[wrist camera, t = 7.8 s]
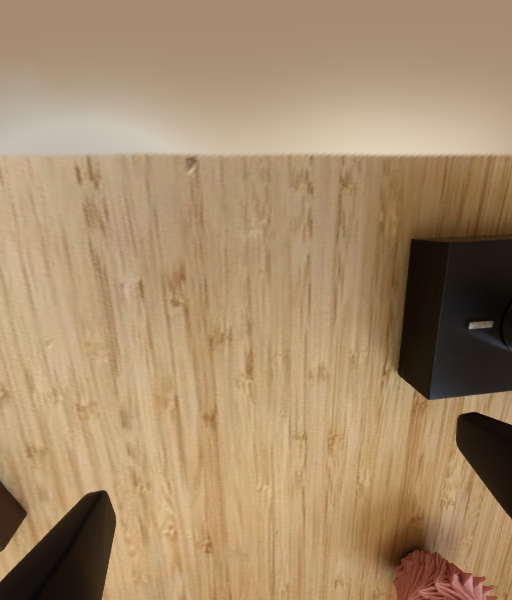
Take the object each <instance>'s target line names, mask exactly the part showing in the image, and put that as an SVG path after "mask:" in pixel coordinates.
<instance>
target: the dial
mask: <svg viewBox="0 0 512 600" xmlns="http://www.w3.org/2000/svg"><path fill="white" fill-rule="evenodd" d="M502 332H503V338H504V341H505V343H506V345H507V346H508V348H509V349H510V350H511V351H512V303H511V305H510V306H509V308H508V310H507V312H506V315H505V317H504V321H503V327H502Z"/></svg>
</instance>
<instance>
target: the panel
mask: <svg viewBox="0 0 512 600" xmlns="http://www.w3.org/2000/svg"><path fill="white" fill-rule="evenodd" d="M511 303H512V235H490V236H469V237H447V238H426V239H412V241H411V251H410V261H409V271H408V281H407V291H406V301H405V311H404V321H403V331H402V341H401V351H400V360H399V370H398V375H399V376H400V377H401V378H403V379H404V380H405V381H406V382H407V383H409V384H410V385H411V386H412V387H413V388H415V389H416V390H417V391H418V392H419V393H421V394H422V395H423V396H424V397H425V398H427V399H428V400H434V399H443V398H452V397H460V396H469V395H478V394H487V393H496V392H505V391H512V351H511V350H510V349H509V348H508V346H507V345H506V343H505V341H504V338H503V332H502V327H503V321H504V317H505V315H506V312H507V310H508V308H509V306H510V305H511Z"/></svg>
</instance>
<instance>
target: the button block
mask: <svg viewBox="0 0 512 600" xmlns="http://www.w3.org/2000/svg"><path fill="white" fill-rule="evenodd" d="M26 515H27V513H26V512H25V511H24V510H23V509H22V508H21V506H20V505H19V504H18V503H17V502H16V501H15V499H14V498H13V497H12V496H11V495H10V494H9V492H8V491H7V490H6V489H5V488H4V487H3V485H2V484H1V483H0V552H1V551H3V550H4V549H5V547H6V546H7V544H8V543H9V541H10V540H11V538H12V537H13V535H14V534H15V532H16V531H17V529H18V528H19V526H20V525H21V523H22V522H23V520H24V518H25V517H26Z"/></svg>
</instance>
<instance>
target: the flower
mask: <svg viewBox="0 0 512 600" xmlns="http://www.w3.org/2000/svg"><path fill="white" fill-rule="evenodd" d="M401 562H402V563H401V565H399V566H398V567H396V568H395V569H396V572H397V577H396V578H395V580H394V581H393V582H394V585H395V588H396V591H397V600H495V599H497V596H487V593H488V592H489V591H490V590H491V589H493V587H494V585H491V586H483V581H484V580H486V578H485V577H484V576H483V577H472V573H464V572H463V571H461V570H460V569H459V568H458V567H457V566H456V565H455V564H453V563H449V562H448V560H446V559H445V558H443V559H442V557H441V555H440V554H437V552H435V553H431V551H430V550H427V551H423V550H421V551H419V550H418V549H416V550H415V551H413V552H412V553H408V556H407V557H405V558H402V559H401Z"/></svg>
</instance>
